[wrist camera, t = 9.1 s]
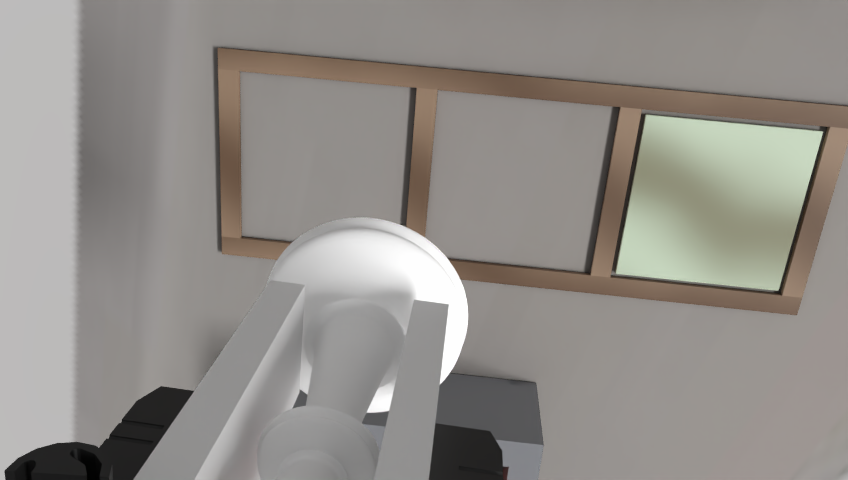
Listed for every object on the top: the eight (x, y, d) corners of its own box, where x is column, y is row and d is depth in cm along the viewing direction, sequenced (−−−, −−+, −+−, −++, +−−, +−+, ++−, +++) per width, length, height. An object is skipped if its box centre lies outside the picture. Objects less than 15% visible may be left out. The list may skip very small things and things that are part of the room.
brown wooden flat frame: (219, 47, 28) (217, 47, 28) (855, 106, 27) (858, 107, 27) (223, 252, 31) (222, 253, 31) (794, 312, 30) (796, 315, 30)
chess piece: (334, 428, 19) (192, 887, 9) (226, 274, 17) (-65, 632, 8) (504, 351, 18) (535, 787, 8) (402, 179, 16) (302, 470, 7)
